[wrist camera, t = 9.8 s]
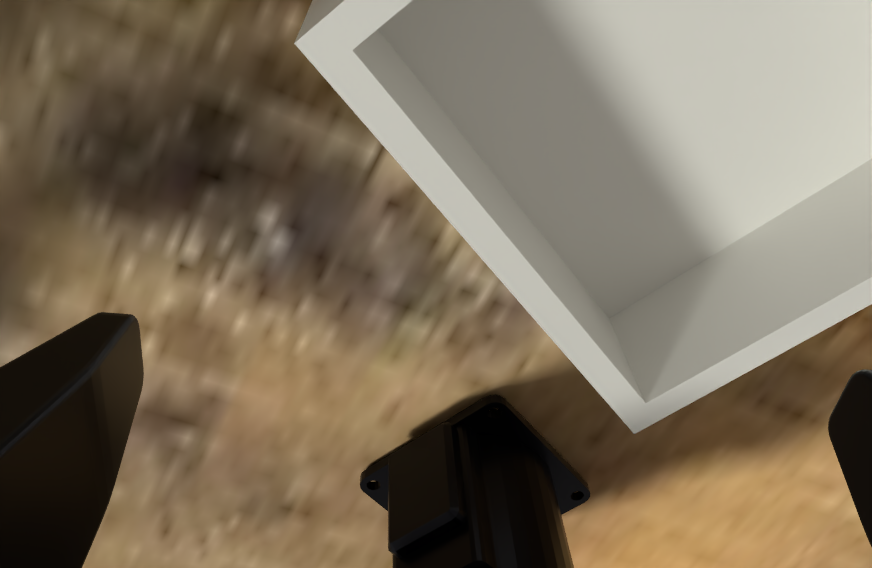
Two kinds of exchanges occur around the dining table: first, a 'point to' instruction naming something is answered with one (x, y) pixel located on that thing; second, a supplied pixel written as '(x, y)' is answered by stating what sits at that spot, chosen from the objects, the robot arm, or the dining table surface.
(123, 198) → the dining table surface
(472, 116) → the open box
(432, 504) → the robot arm
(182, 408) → the dining table surface
